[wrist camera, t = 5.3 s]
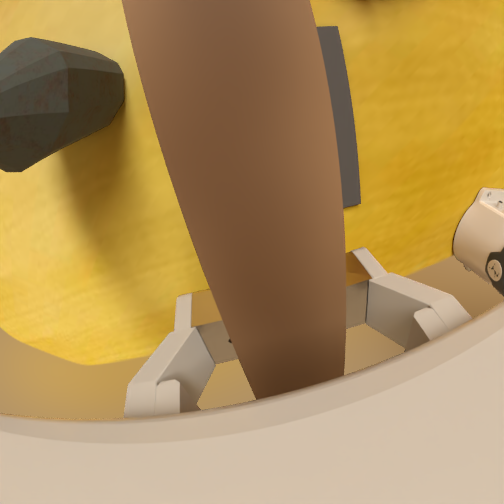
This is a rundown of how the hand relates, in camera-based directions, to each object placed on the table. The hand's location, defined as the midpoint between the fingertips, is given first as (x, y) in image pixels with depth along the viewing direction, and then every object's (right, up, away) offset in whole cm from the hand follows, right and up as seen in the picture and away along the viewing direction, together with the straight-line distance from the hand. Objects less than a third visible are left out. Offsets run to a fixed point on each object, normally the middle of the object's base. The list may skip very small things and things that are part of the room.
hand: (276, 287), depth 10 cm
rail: (0, +1, +1) cm, 1 cm away
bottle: (-20, +19, +17) cm, 32 cm away
